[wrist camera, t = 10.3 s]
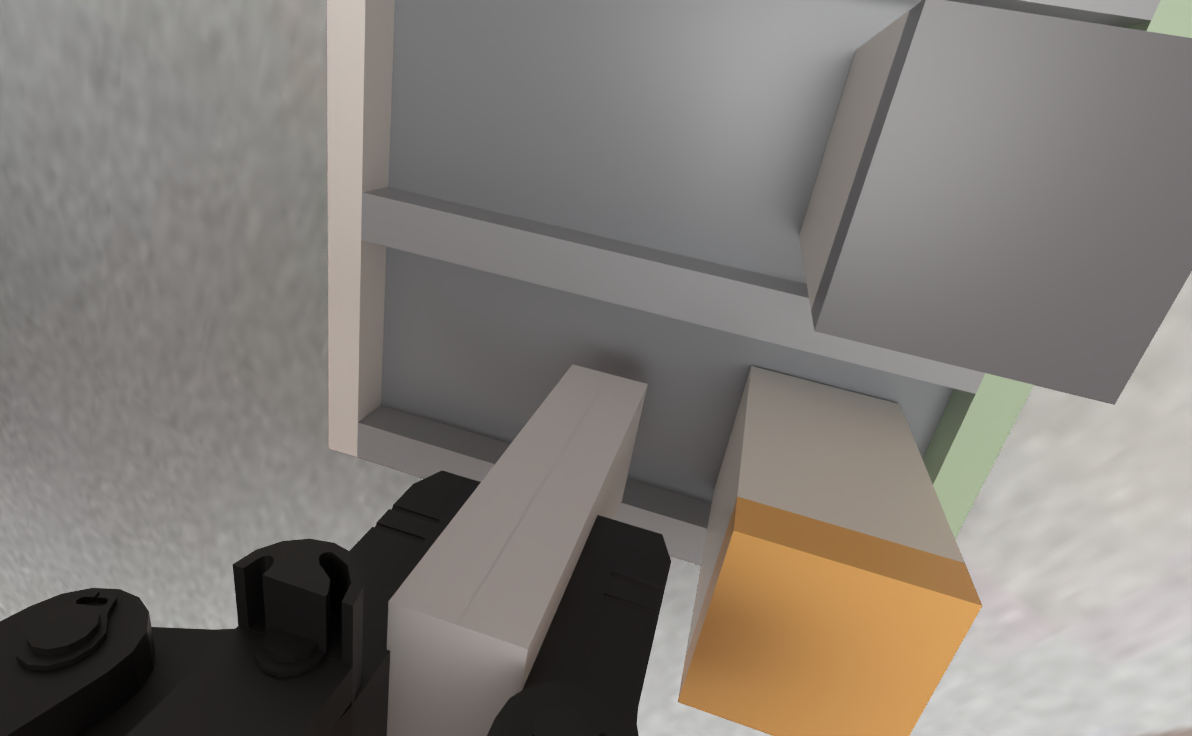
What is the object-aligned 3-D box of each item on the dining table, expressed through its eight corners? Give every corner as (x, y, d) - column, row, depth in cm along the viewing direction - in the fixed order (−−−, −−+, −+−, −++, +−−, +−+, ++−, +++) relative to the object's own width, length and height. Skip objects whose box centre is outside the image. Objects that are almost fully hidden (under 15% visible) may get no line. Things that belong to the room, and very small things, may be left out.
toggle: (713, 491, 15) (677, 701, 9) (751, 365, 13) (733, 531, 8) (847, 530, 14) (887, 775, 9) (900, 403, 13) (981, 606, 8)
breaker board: (377, 410, 18) (328, 448, 16) (409, -540, 11) (324, -688, 9) (892, 564, 16) (908, 630, 14) (1397, -516, 8) (1594, -715, 6)
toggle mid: (798, 235, 12) (813, 331, 7) (855, 49, 11) (926, -4, 6) (964, 272, 12) (1114, 404, 6) (1045, 82, 10) (1314, 58, 5)
